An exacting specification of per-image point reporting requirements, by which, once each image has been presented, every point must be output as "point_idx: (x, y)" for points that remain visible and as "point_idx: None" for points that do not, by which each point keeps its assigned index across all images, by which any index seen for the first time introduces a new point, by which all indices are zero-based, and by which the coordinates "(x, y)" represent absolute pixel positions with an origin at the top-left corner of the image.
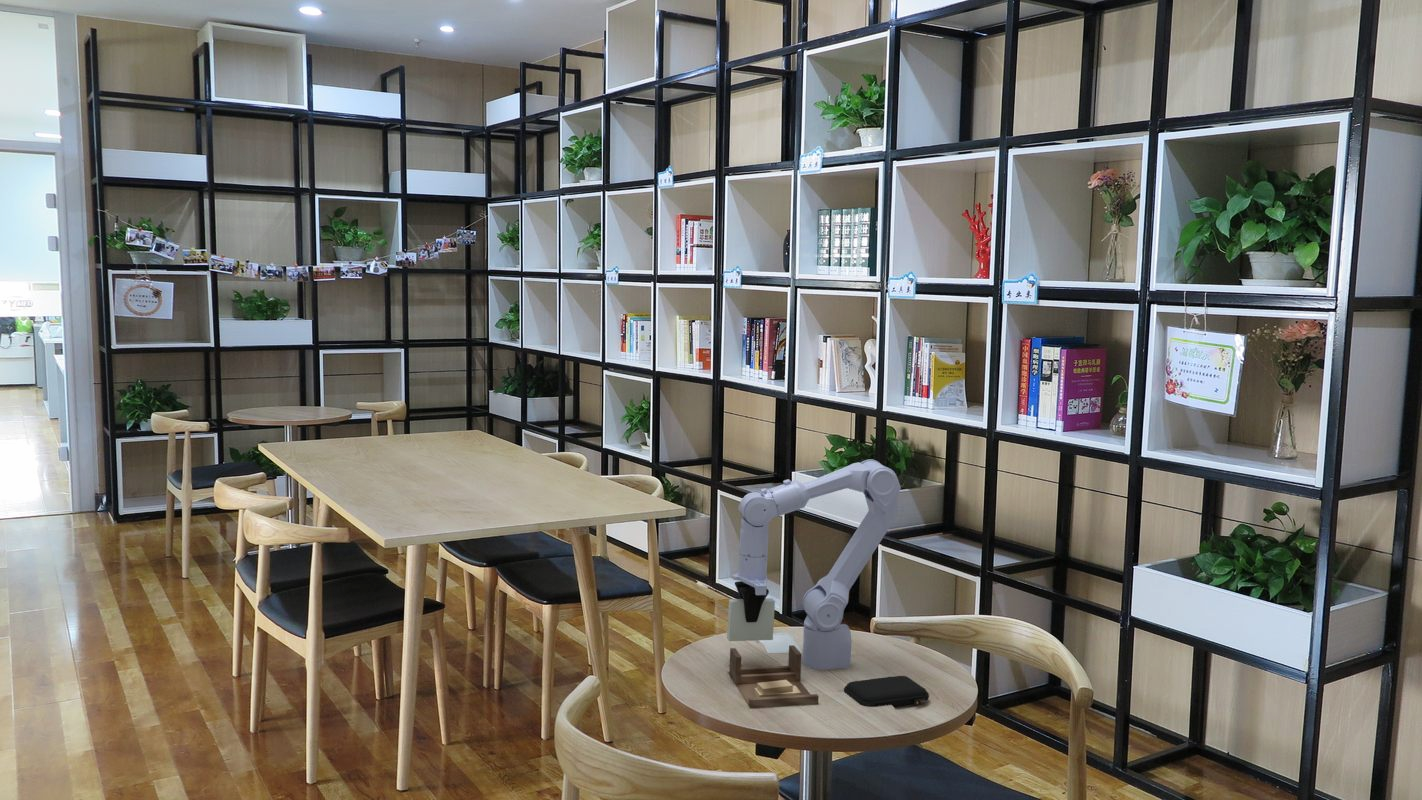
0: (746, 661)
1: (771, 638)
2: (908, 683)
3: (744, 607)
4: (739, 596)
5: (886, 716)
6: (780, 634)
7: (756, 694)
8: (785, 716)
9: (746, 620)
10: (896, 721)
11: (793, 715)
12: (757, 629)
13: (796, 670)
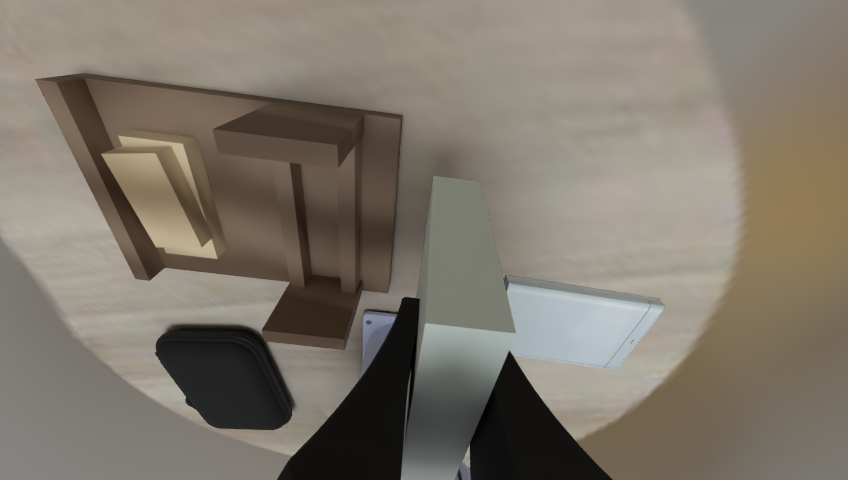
0: (505, 220)
1: None
2: (233, 421)
3: (409, 355)
4: (537, 404)
5: (150, 345)
6: (616, 352)
7: (167, 136)
8: None
9: (403, 301)
10: (129, 349)
11: None
12: None
13: (283, 294)
